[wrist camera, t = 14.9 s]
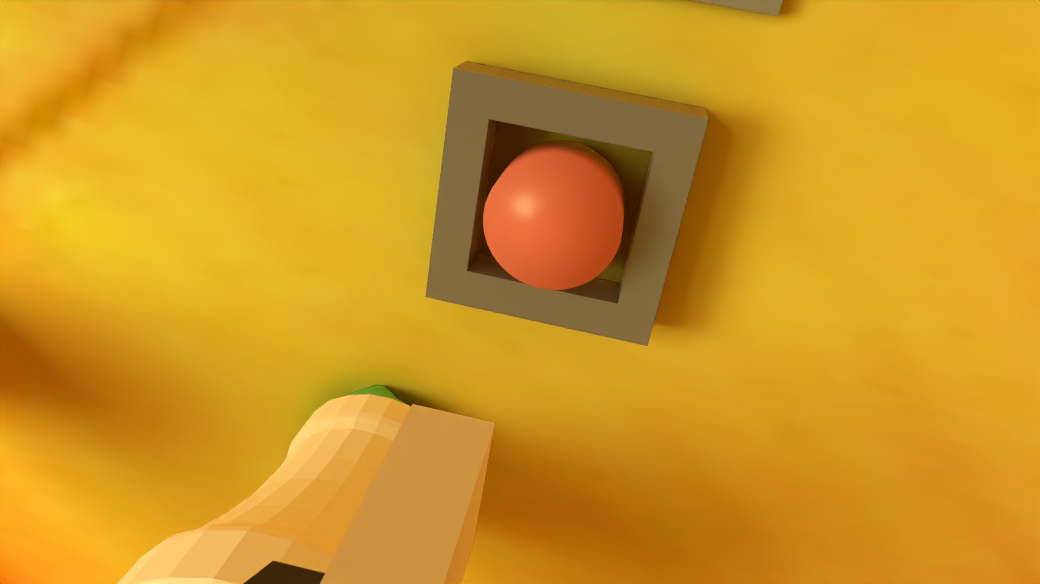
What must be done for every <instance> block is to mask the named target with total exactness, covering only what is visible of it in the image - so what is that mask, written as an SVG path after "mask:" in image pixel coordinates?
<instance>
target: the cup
mask: <svg viewBox="0 0 1040 584" xmlns="http://www.w3.org/2000/svg"><path fill="white" fill-rule="evenodd" d="M410 407H411V406H409V405H407V404H405V403H404V402H402V401H401V400H399V399H398V398H396V397H395V396H394V394H393V393H392V392H391V391H389V390H388V389H387V388H386V387H384V386H377V385H373V386H371V387H369V388H366V389H363V390H360V391H357V392H354V393H351V394H348V395H346V396H343V397H339V398H335V399H331V400H329V401H328V402H327V403H325V404H324V405H322V406H321V407H320V408H318V409H317V410H316V411H315V412H314V413H313V414H312V415H311V417H310V418H309V419H308V421H307V422H306V423H305V424H304V426H303V427H302V428H301V430H300V431H299V432H298V434H297V435H296V436H295V438H294V439H293V440H292V442H291V445H290V448H289V451H288V454H287V457H286V460H285V461H284V462H283V463H282V465H281V466H280V467H279V468H278V469H277V471H276V472H275V473H274V474H273V475H272V476H271V477H270V478H269V479H268V480H267V481H266V482H265V483H264V484H262V485H261V486H260V487H259V488H258V489H257V490H256V491H255V492H254V493H253V494H252V495H251V496H250V497H248V498H247V499H245V500H244V501H242V502H241V503H240V504H238V505H237V506H235V507H234V508H232V509H231V510H230V511H228V512H227V513H225V514H223V515H221V516H219V517H218V518H216V519H214V520H212V521H210V522H209V523H207V524H205V525H203V526H201V527H200V528H198V529H195V530H190V531H185V532H180V533H176V534H174V535H172V536H171V537H169V538H167V539H166V540H165V541H163V542H162V543H160V544H159V545H157V546H156V547H155V548H153V549H152V550H150V551H149V552H147V553H146V554H145V555H143V556H142V557H141V558H140V559H139V560H138V561H137V563H136V564H135V565H134V566H133V567H132V568H131V569H130V570H129V571H128V573H127V574H126V575H125V576H124V577H123V578H122V579H121V580H120V581H119V583H118V584H243V583H245V582H246V581H247V580H248V579H250V578H251V577H252V576H254V575H255V574H256V573H258V572H259V571H260V570H261V569H263V568H264V567H265V566H267V565H268V564H269V563H271V562H272V561H277V562H281V563H285V564H290V565H294V566H298V567H302V568H306V569H310V570H314V571H318V572H322V573H326V571H327V569H328V567H329V565H330V563H331V561H332V559H333V557H334V555H335V553H336V551H337V549H338V548H339V546H340V544H341V542H342V540H343V538H344V536H345V534H346V532H347V530H348V528H349V526H350V524H351V522H352V520H353V518H354V516H355V514H356V513H357V511H358V509H359V507H360V505H361V503H362V501H363V499H364V497H365V495H366V493H367V491H368V489H369V487H370V485H371V483H372V481H373V479H374V477H375V476H376V474H377V472H378V470H379V468H380V466H381V464H382V462H383V460H384V458H385V456H386V454H387V452H388V450H389V448H390V446H391V444H392V442H393V441H394V439H395V437H396V435H397V433H398V431H399V429H400V427H401V425H402V423H403V421H404V419H405V417H406V415H407V413H408V411H409V409H410Z"/></svg>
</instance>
